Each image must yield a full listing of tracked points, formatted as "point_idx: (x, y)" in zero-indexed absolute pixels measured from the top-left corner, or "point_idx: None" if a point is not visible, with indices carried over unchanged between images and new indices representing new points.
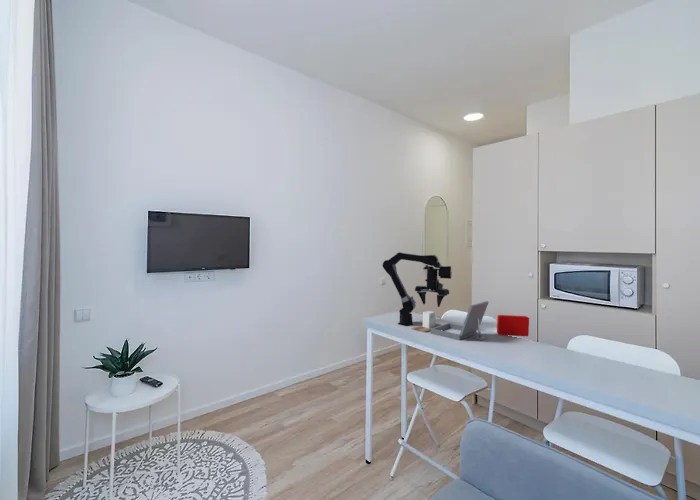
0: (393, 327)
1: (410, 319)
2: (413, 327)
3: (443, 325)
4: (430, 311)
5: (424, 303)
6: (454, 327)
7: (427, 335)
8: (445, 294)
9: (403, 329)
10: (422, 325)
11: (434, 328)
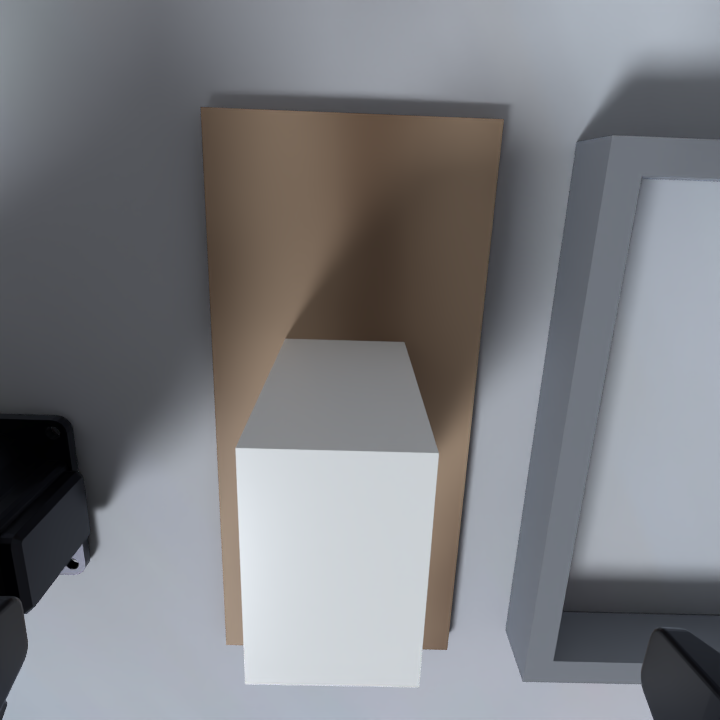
0: (36, 711)
1: (49, 568)
2: (226, 608)
3: (600, 400)
4: (307, 473)
5: (3, 659)
6: (714, 180)
7: (515, 711)
8: None
9: (175, 700)
10: (239, 430)
11: (556, 636)
